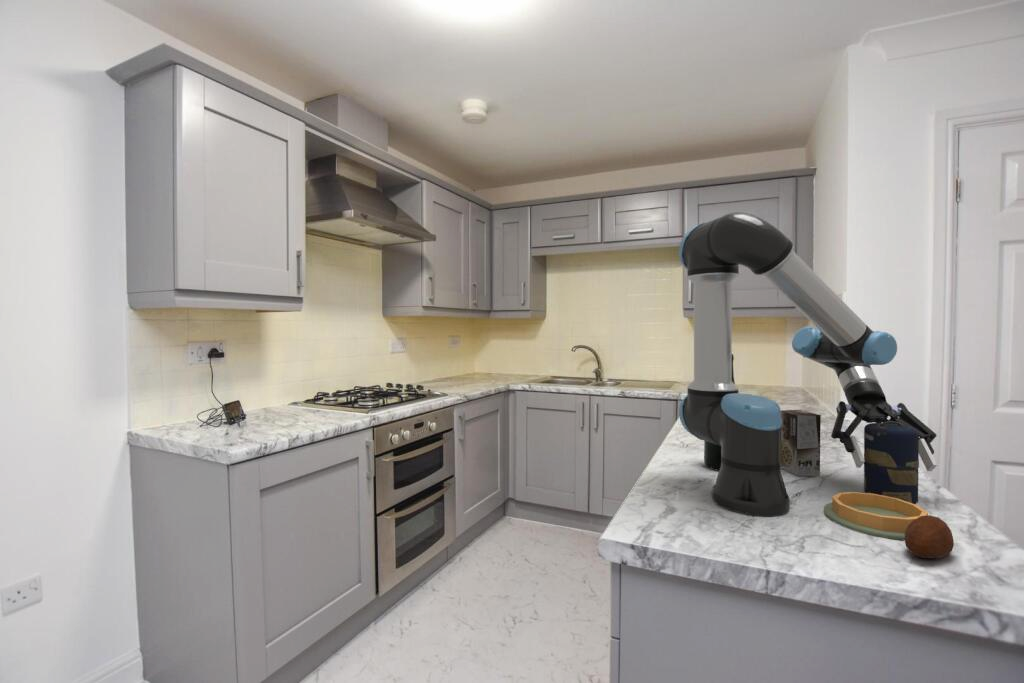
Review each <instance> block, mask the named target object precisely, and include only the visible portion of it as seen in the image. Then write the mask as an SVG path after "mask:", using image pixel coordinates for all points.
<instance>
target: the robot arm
mask: <svg viewBox="0 0 1024 683" xmlns="http://www.w3.org/2000/svg"><path fill="white" fill-rule="evenodd" d="M794 247H795V245H794V243H793V242H792V241H791V240H790V238H788V237H787V236H786V235H785V234H784V232H782V231H781V230H779V229H778V227H776V226H774V225H773V224H771V223H770V222H768V221H766V220H764V219H763V218H761V217H759V216H756V215H755V214H752V213H748V212H743V211H742V212H740V211H739V212H730V213H726V214H724V215H722V216H720V217H717V218H715V219H712V220H710V221H707V222H702V223H699V224H698V225H696V226H695V227H693V228H691V229H690V230H688V231H687V232H686V233H685V235H683V237H682V239H681V241H680V244H679V249H678V257H679V260H680V263H681V265H683V266H684V267H683V268H685V269H686V270H687V271H686V272H687V277H686V278H687V279H688V280H689V281H690V282H691V283H692V284H693V380H692V381H691V382H690V383H689V384H688V385H687V394H686V395H685V396H684V398H683V399H682V400H681V402H680V404H679V407H678V408H679V409H678V415H679V416H678V417H679V420H680V423H681V425H682V426H683V428H684V429H685V430H686V432H688V433H689V434H691V435H692V436H694V437H695V438H697V439H698V440H702V441H703V442H704V441H708V442H711V443H713V444H716V445H719V446H721V467H720V470H718V473H717V477H716V479H715V483H714V485H713V486H712V501H713V502H714V503H715V504H717V505H718V506H720V507H722V508H724V509H727V510H730V511H733V512H736V513H739V514H746V515H753V516H762V517H771V516H772V517H775V516H781V515H785V514H787V513H789V512H790V505H791V504H790V503H791V501H790V497H789V495H788V490H787V488H786V484H785V482H784V478H783V475H782V472H781V471H782V470H781V469H782V468H780V466H781V430H782V419H781V410H782V409H781V407H780V405H779V404H778V403H777V402H776V401H775V400H773V399H771V398H768V397H766V396H762V395H758V394H757V395H755V394H754V395H753V394H751V393H740V392H739V387H738V386H737V385H736V383H735V384H734V383H733V382H732V354H733V353H732V352H733V351H732V350H733V348H732V347H733V346H732V344H733V343H732V342H733V341H732V338H733V336H732V334H733V333H732V322H733V321H732V320H733V319H732V315H733V314H732V312H733V311H732V310H733V308H732V299H733V298H732V297H733V295H732V292H733V291H732V289H733V288H732V284H733V282H734V280H736V279H737V278H738V277H739V276H740V275H739V274H740V273H739V265H741V266H744V267H746V269H747V268H748V269H749V270H750V271H751V272H752V273H753V274H754V275H756V276H763V277H764V278H765V279H766V280H768V282H769V283H770V284H772V285H773V286H774V287H775V289H776V290H778V291H779V292H780V293H781V294H782V295H783V297H785V298H786V299H787V300H788V301H789V302H790V303H791V304H792V305H793V306H794V307H795V308H797V310H798V311H799V312H800V313H802V315H803V316H804V317H805V318H806V319H808V320H809V321H810V322H811V323H812V324H813V325H814V326H815V327H816V328H815V327H813V326H804V327H802V328H800V329H799V330H797V332H796V333H795V334H794V336H793V338H792V341H791V347H792V349H793V351H794V352H795V353H796V354H798V355H800V356H802V357H803V358H807V359H808V360H810V361H811V360H812V361H814V362H816V363H819V364H821V365H823V366H825V367H827V368H830V369H832V370H833V371H834V372H835V374H836V376H837V379H838V381H839V383H840V385H841V386H840V387H841V388H842V390H843V394H844V395H845V398H846V401H847V402H848V403H846V402H845V401H841V400H840V401H839V403H838V404H837V407H836V408H835V410H836V419H835V421H834V425H833V429H832V432H831V435H830V437H831V438H832V439H835V440H836V439H839V442H840V443H841V444H843V446H844V448H845V451H846V452H847V453H850V454H851V456H852V460H853V461H854V464H855V466H856V467H855V468H859V469H860V468H862V466H864V462H865V460H864V454H862V450H861V447H860V446H859V443H858V440H857V439H856V436H855V435H852V434H853V433H854V431H855V430H856V429H857V428H858V426H859V425H860V423H861V422H862V421H864V422H866V423H867V424H871V423H884V422H887V421H893V422H898V423H901V424H903V425H905V426H910V427H913V428H915V429H916V430H917V431H918V438H919V456H920V459H921V461H922V463H923V465H924V467H925V469H926V471H927V472H933V470H935V469H936V467H937V466H938V464H937V461H936V460H935V458H934V455H933V454H934V453H935V450H934V448H933V446H932V444H931V443H932V442H933V441H934V440H935V438H936V437H937V436H938V435H937V433H936V432H934V431H933V430H932V429H931V428H930V427H928V426H927V425H926V424H925V423H924V422H922V420H920V419H919V418H918V417H916V416H915V415H914V414H913V413H912V412H910V410H908V408H907V407H906V405H905V404H904V403H902V402H899V403H898V404H897V405H891V404H889V402H888V401H887V398H886V395H885V393H884V391H883V389H882V387H881V385H880V382H879V380H878V379H877V376H876V374H875V372H874V370H873V368H872V367H871V366H876V365H877V366H884V365H887V364H890V362H892V361H893V360H894V358H895V357H896V356H897V353H898V344H897V341H896V338H895V337H894V336H893V335H892V334H891V333H888V332H886V331H879V330H876V331H874V330H872V329H871V328H870V326H868V325H867V324H866V323H865V322H864V321H863V320H862V318H860V317H859V316H858V314H856V313H855V312H854V311H853V310H852V308H850V307H849V306H848V305H847V304H846V303H845V301H843V300H842V298H840V297H839V296H838V294H836V292H834V291H833V289H832V288H831V287H829V286H828V284H827V283H825V282H824V280H822V279H821V277H819V275H817V273H816V272H815V271H813V270H812V268H811V267H810V266H809V265H807V263H805V261H804V260H803V259H802V258H801V257H800V256H799V255H798V254H797V253H796V252H795V251H794ZM849 411H850V412H851V413H852V414H854V415H855V418H854V419H853V420H852V422H851V423H850V424H849V425H848V426H847V428H846V429H845V431H842V428H843V424H844V420H845V418H846V414H847V413H848V412H849ZM888 417H889V419H888ZM890 424H894V423H890Z"/></svg>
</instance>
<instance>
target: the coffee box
mask: <svg viewBox="0 0 1024 683" xmlns="http://www.w3.org/2000/svg"><path fill="white" fill-rule="evenodd" d="M780 410H781V419H782V430H781V466H780V468H781V469H782V468H783V470H784V471H786V472H788V473H789V474H790V473H791V474H792V475H795V476H796V477H820V476H821V426H822V425H821V421H822V420H821V417H822V415H821V414H817V413H814V412H809V411H806V410H802V409H785V410H782V409H780Z"/></svg>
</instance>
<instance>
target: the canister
mask: <svg viewBox="0 0 1024 683" xmlns="http://www.w3.org/2000/svg"><path fill="white" fill-rule="evenodd" d="M890 423H894V424H890ZM863 431H864V432H863V458H864V460H865V462H864V464H863V493H871V494H878V495H883V496H888V497H893V498H897V499H900V500H903V501H906V502H909V503H912V504H915V505H918V503H919V468H920V461H919V460H920V459H919V456H920V455H919V438H920V437H919V438H918V431H917V430H916V429H915V428H913V427H910V426H905V425H903V424H901V423H898V422H893V421H887V422H884V423H883V422H882V423H875V422H872V423H867V424H866V425H865V426H864V428H863Z"/></svg>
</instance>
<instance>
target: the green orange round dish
mask: <svg viewBox="0 0 1024 683" xmlns="http://www.w3.org/2000/svg"><path fill="white" fill-rule="evenodd" d="M823 514H824V516H825V517H826V518H827V519H829V520H830V521H832V522H833V521H834V523H835V522H836V523H835V524H837V523H838V524H837V525H839V524H840V526H842V527H844V526H845V527H844V528H846V527H847V529H850V530H852V531H855V532H859V533H862V534H866V535H870V536H874V537H880V538H885V539H890V540H899V541H905V531H906V529H907V527H908V525H909V524H910V523H911V522H912V521H913V520H915V519H917V518H918V517H920V516H927V515H929V514H928V511H927V510H925V509H924V508H922V507H921V506H919V505H918V504H916V505H915V504H912V503H909V502H906V501H903V500H900V499H897V498H893V497H888V496H883V495H878V494H871V493H864V492H857V491H847V492H836V494H835V495H833V496H832V497H831V502H829V503H826V504H825V505H824V506H823Z"/></svg>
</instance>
